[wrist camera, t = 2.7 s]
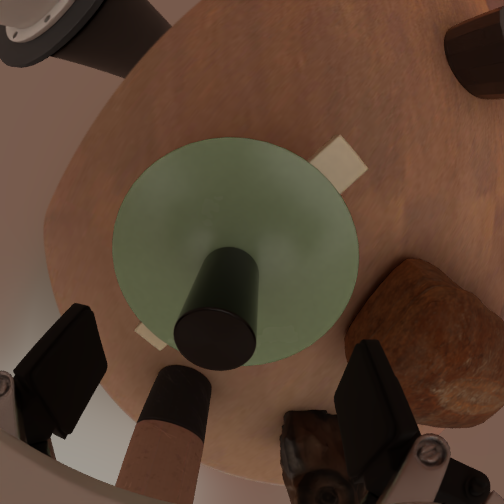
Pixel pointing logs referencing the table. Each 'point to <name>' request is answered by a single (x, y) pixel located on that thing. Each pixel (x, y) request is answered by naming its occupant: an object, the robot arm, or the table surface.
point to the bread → (436, 345)
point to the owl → (316, 460)
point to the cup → (478, 53)
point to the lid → (235, 252)
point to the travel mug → (169, 438)
